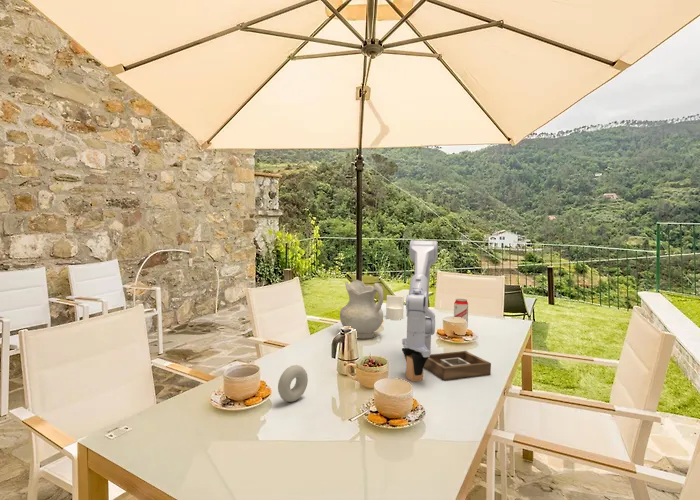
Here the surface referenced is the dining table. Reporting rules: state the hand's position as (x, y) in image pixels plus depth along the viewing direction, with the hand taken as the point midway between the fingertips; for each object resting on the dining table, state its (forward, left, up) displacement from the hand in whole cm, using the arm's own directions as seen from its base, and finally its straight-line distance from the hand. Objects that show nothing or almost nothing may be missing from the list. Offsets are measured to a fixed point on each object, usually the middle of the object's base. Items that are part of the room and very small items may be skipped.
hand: (414, 372), depth 134 cm
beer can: (-42, +47, -2) cm, 63 cm away
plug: (0, 0, -2) cm, 2 cm away
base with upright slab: (-79, +32, -2) cm, 85 cm away
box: (-2, +17, -2) cm, 17 cm away
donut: (+5, -41, -2) cm, 41 cm away
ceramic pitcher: (-52, +3, -2) cm, 52 cm away
